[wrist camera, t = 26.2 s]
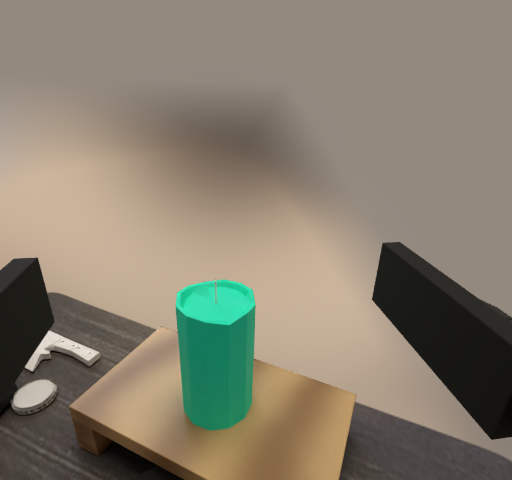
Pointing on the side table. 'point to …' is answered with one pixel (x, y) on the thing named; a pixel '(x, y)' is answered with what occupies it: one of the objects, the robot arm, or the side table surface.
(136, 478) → the sandal
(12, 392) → the loafer
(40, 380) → the white ridged disc
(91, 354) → the white plastic blade
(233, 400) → the candle
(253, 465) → the oak shelf
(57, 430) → the side table surface
